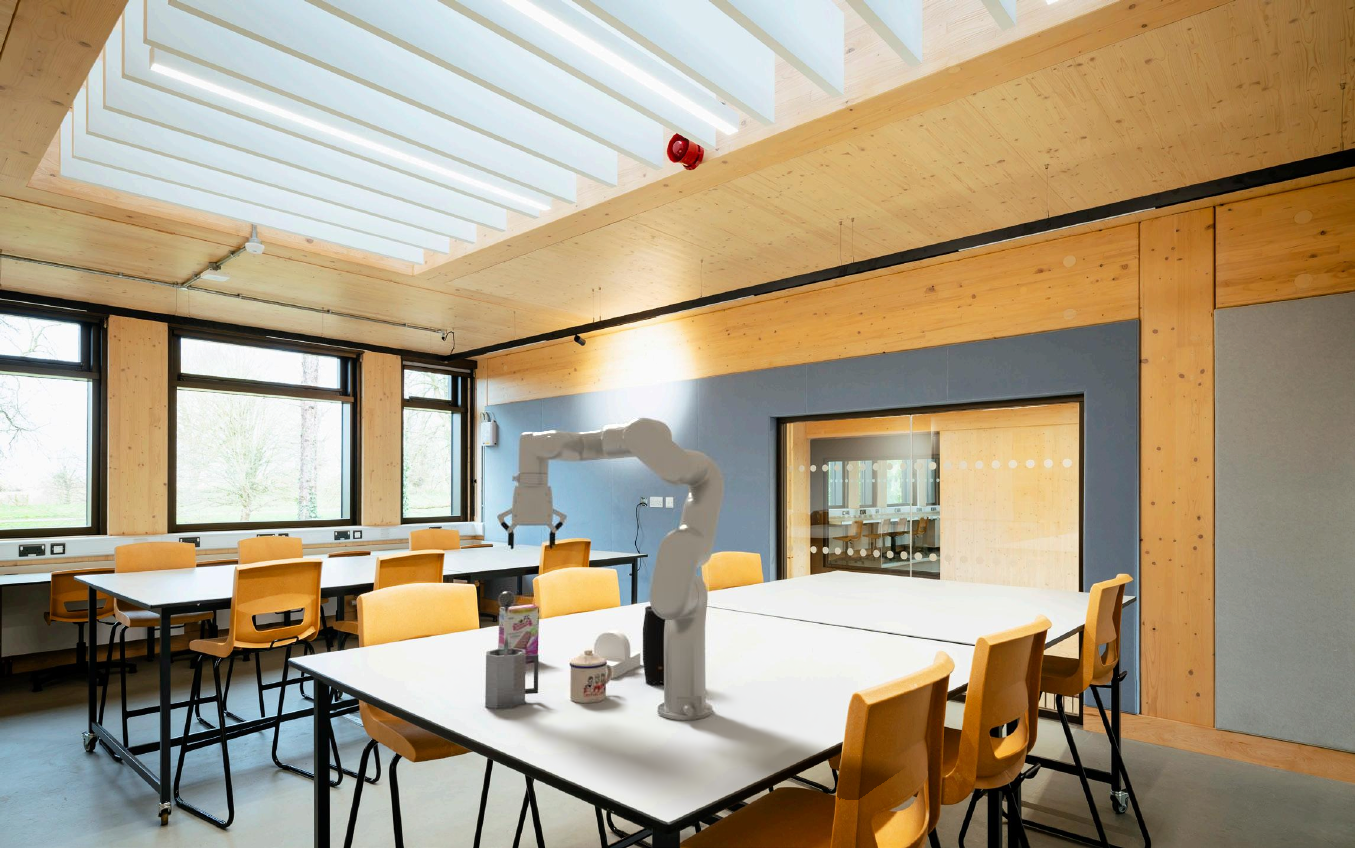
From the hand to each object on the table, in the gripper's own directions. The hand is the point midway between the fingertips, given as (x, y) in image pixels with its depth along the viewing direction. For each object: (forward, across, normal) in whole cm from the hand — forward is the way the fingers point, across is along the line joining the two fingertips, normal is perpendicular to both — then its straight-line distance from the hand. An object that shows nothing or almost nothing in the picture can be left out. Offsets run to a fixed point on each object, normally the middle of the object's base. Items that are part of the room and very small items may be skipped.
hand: (531, 548), depth 188 cm
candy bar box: (+37, -3, +37) cm, 53 cm away
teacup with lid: (+36, +16, -5) cm, 40 cm away
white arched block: (+37, +24, +22) cm, 49 cm away
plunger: (+26, -6, -6) cm, 27 cm away
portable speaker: (+36, +34, +5) cm, 50 cm away
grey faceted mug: (+36, -4, -6) cm, 37 cm away
